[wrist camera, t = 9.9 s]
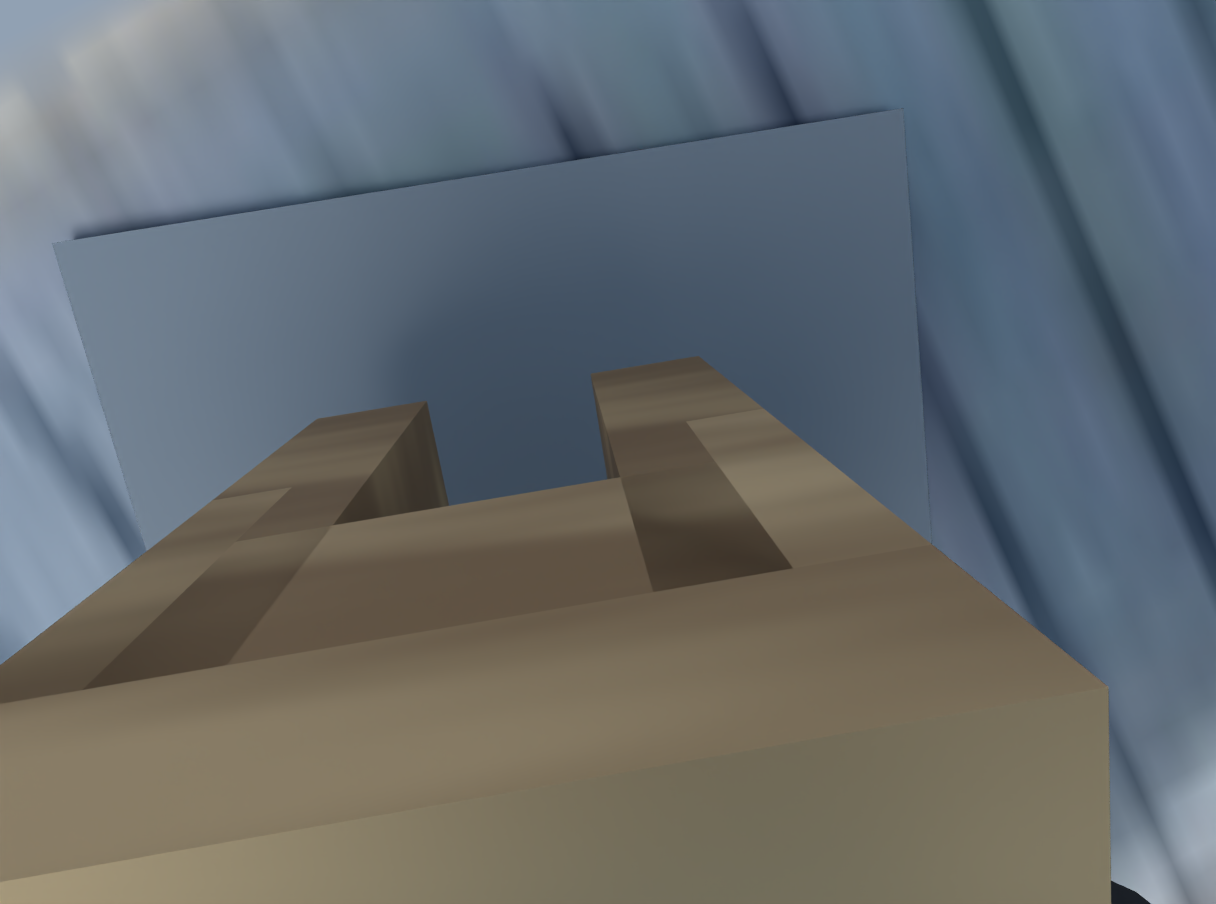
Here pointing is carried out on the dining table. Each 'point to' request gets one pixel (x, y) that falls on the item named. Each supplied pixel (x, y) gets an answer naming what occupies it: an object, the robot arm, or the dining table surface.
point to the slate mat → (521, 314)
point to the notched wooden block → (552, 690)
